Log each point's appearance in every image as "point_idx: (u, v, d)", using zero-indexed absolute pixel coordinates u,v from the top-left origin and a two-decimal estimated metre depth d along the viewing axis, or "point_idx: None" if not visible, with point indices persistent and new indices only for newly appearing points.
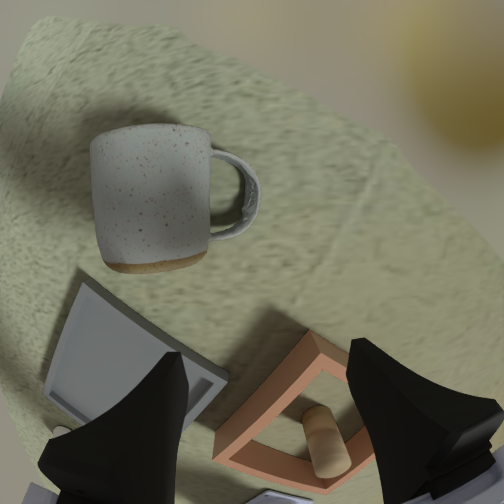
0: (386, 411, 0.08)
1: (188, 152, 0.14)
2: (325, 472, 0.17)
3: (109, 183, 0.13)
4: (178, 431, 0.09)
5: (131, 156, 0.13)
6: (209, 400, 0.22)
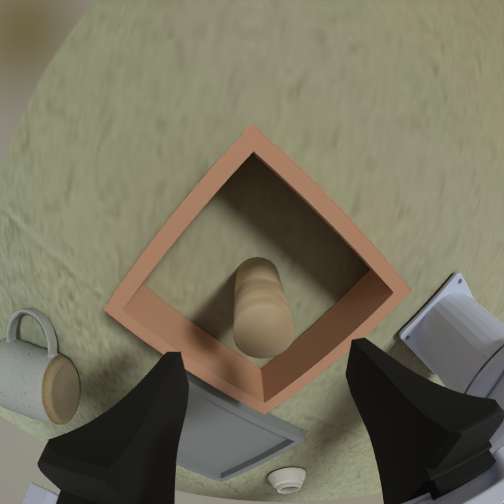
0: (386, 411, 0.08)
1: None
2: (273, 344, 0.14)
3: (17, 411, 0.16)
4: (178, 431, 0.09)
5: (2, 398, 0.15)
6: (197, 387, 0.22)
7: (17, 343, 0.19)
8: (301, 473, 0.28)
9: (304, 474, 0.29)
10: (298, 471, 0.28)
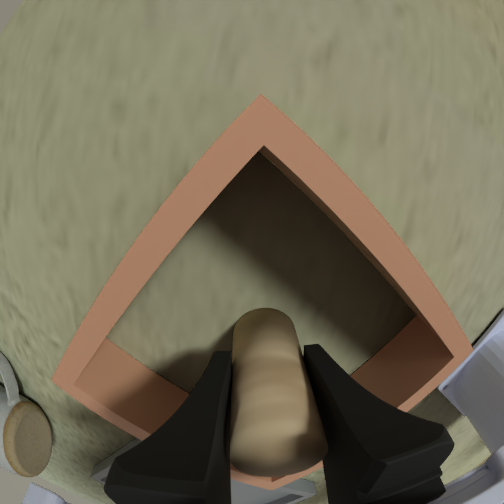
0: (329, 423, 0.08)
1: None
2: (292, 464, 0.07)
3: None
4: None
5: None
6: None
7: None
8: None
9: None
10: None
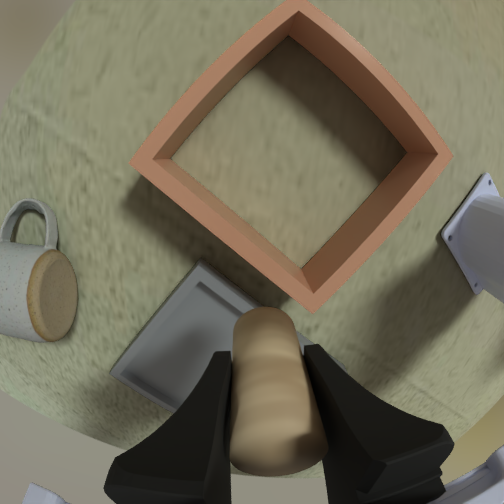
0: (329, 424, 0.08)
1: None
2: (293, 463, 0.07)
3: None
4: None
5: None
6: (226, 290, 0.19)
7: (10, 242, 0.17)
8: None
9: None
10: None
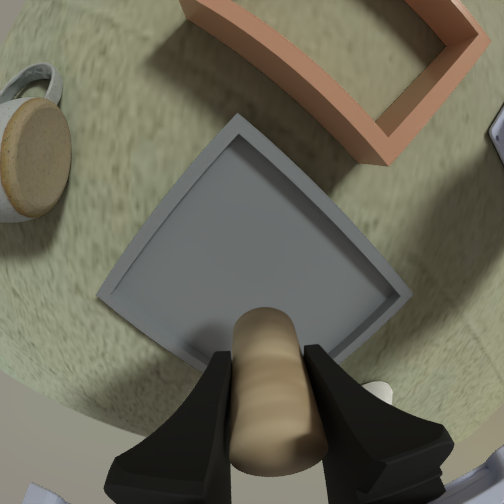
0: (328, 424, 0.08)
1: None
2: (292, 464, 0.07)
3: None
4: None
5: None
6: (273, 147, 0.14)
7: None
8: (389, 390, 0.21)
9: (391, 394, 0.22)
10: (386, 387, 0.21)
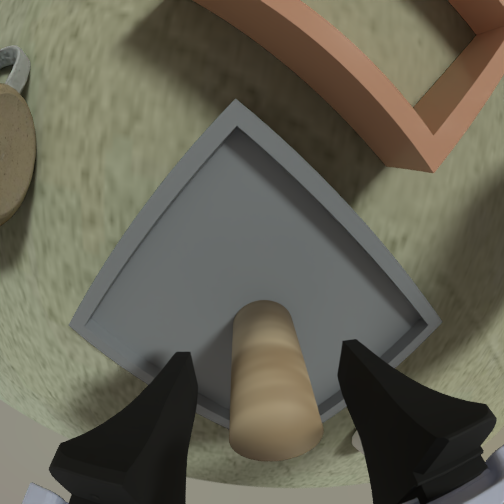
0: (375, 414, 0.08)
1: None
2: (290, 448, 0.08)
3: None
4: (188, 432, 0.09)
5: None
6: (282, 144, 0.11)
7: None
8: None
9: None
10: None
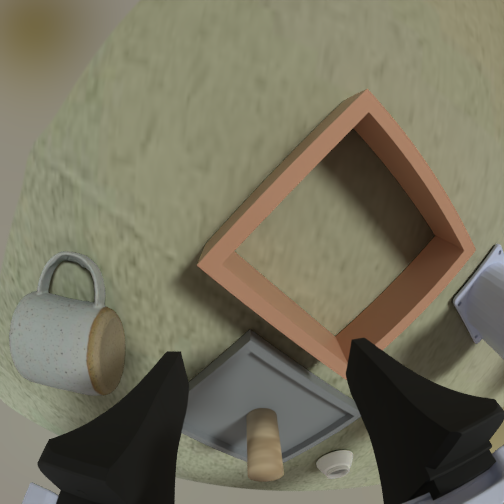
0: (386, 411, 0.08)
1: (24, 324, 0.15)
2: (271, 477, 0.19)
3: (45, 381, 0.15)
4: (178, 431, 0.09)
5: (26, 365, 0.14)
6: (273, 358, 0.21)
7: (51, 295, 0.18)
8: (350, 455, 0.28)
9: (352, 457, 0.29)
10: (347, 453, 0.28)
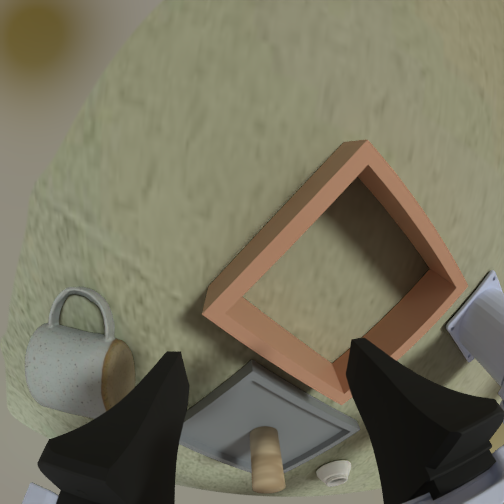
0: (386, 411, 0.08)
1: (38, 358, 0.16)
2: (273, 489, 0.20)
3: (61, 408, 0.16)
4: (178, 431, 0.09)
5: (43, 395, 0.15)
6: (274, 385, 0.22)
7: (62, 328, 0.19)
8: (348, 465, 0.29)
9: (350, 466, 0.30)
10: (345, 463, 0.29)
